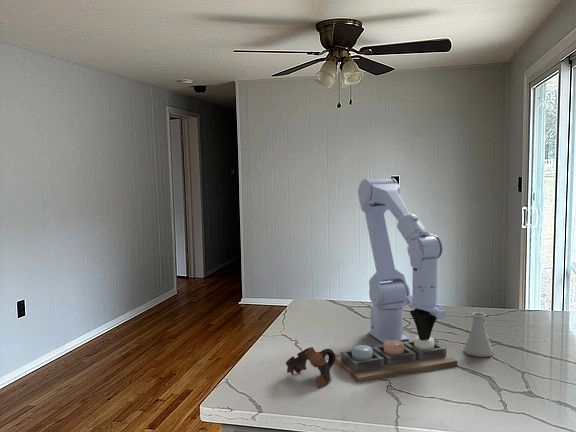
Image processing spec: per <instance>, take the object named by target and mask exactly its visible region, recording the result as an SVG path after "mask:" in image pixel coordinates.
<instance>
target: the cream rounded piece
mask: <svg viewBox="0 0 576 432" xmlns="http://www.w3.org/2000/svg"><path fill="white" fill-rule="evenodd" d="M413 341H414V347H415V348H417V349H418V350H420V351H423V350H429V349H434V342H435V338H434V337H432V336H430V339H429V340H420V339H419V336H418V335H417V336H415V337H413Z"/></svg>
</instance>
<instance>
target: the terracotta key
mask: <svg viewBox="0 0 576 432" xmlns="http://www.w3.org/2000/svg"><path fill="white" fill-rule="evenodd" d="M403 342H404V341H396V340H389V341H385V342H384V343H383V345H384V353H386V354H387V355H389V356H392V355H399V354H404V343H403Z"/></svg>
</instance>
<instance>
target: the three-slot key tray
mask: <svg viewBox="0 0 576 432" xmlns="http://www.w3.org/2000/svg"><path fill="white" fill-rule="evenodd" d="M402 342H403V343H404V354H399V355H392V356H389V355H387V354H386V353H384V344H383V345H377V346H372V347H371V348H372V359H368V360H362V361H355V360H354V359H353V358H352V349H351V350H345V351H340V354H335V362H334V364H336V365H338V367H339V368H340V369H342V370H343V371H344V372H345V373H346V374H347V373H348V375H349V376H350V377H351V378H352V379H353V380H354V381H355V382H357V383H358V384H361V383H368V382H372V381H377V380H384V379H389V378H394V377H400V376H406V375H411V374H419V373H422V372H428V371H433V370H434V371H435V370H439V369H445V368H450V367H451V368H452V367H456V366H458V360H457V359H455V358H453V357H451V356H450V355H449V354H447V347H445V346H443V345H441V344H439V343H438V342H436V341H434V349H429V350H423V351H420V350H418V349H417V348H415V347H414V340H411V341H409V340H408V341H402Z"/></svg>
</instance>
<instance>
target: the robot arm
mask: <svg viewBox="0 0 576 432" xmlns="http://www.w3.org/2000/svg"><path fill="white" fill-rule="evenodd" d="M400 189H401V188H400V185H399V183H398V181H397V180H396V179H395V178H394V177H389V178H373V179H368V178H364V179H362V180H361V181H360V183H359V186H358V190H357V194H358V201H359V204H360V210H361V211H362V212H363V213H364V216H365V220H366V227H367V230H368V235H369V236H368V237H369V242H370V246H371V251H372V252H371V253H372V257H373V262H374V267H375V271H376V272H375V273H374V274H372V276H371V278H370V279H369V281H368V284H369V286H368V287H369V291H368V292H369V293H368V294H369V299H370V301H371V303H372V307H371V308H370V330H368V331H367V333H368V335H371V337H373V338H375V339H377V340H378V341H379V342H381V343H382V344H384V342H385V341H389V340H396V341H401V342H404V341H407V340H408V341H409V340H410V337H409V336H408V335H405V334H404V307H406V305H408V307H409V308H411V310H409V315H410V316H411V317H412V320H413V321H414V323H415V324H414V325H415V328H416V331H417V336H419V339H420V340H429V339H430V337H431V334H432V331H433V328H434V326H435V323H436V321H437V320H444V319H445V320H446V317H447V311H446V310H445V309H444V308H443V307H441V305H440V304H439V303H438V302H437V300H438V299H437V298H438V297H437V295H438V294H437V293H438V288H437V287H438V285H437V284H438V281H437V280H438V259H440V258H441V257H442V255H443V244H442V241H441V239H440V237H439V236H438V235H436V234H433V233H432V232H429V231H428V230H427V228H426V227H425V226H424V224H423V222H421V219H420V218H419V217H418V216H417V215H416V214H414V213H410V211H409V210H408V208H407V206H406V204H405V202H404V200H403V199H402V197H401V195H400V193H401V192H400V191H401V190H400ZM386 211H390V213H391V215H393V217H395V219H396V220H397V224H396V228H397V230H398V231H399V233H400V234H401V236H402V237H403V239H404V241H405V242H406V244H407V254H408V257H409V260H410V262H409V264H410V267H411V268H412V295H411V291H410V290H411V289H410V287H409V285H408V283H407V281H406V277H405V275H404V273H402V272H400V271H399V270H397V269H396V266H395V263H394V262H395V261H394V257H393V252H392V247H391V241H390V237H389V233H388V228H387V223H386V219H385V213H386ZM412 309H413V310H412Z"/></svg>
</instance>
